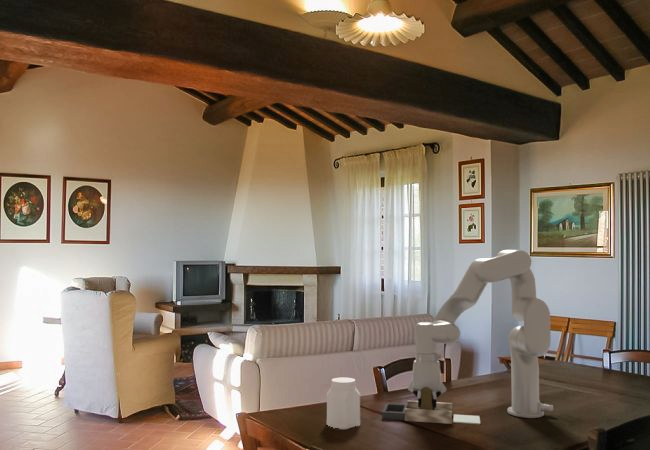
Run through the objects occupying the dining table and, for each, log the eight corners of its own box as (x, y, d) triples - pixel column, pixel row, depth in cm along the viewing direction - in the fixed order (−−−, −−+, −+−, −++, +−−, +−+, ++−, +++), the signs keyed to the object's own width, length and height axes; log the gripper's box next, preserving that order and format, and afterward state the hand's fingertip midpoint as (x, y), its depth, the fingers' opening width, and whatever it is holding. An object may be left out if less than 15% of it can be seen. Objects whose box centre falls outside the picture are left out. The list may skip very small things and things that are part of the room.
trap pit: (407, 411, 215) (407, 404, 215) (404, 420, 203) (404, 413, 203) (386, 410, 217) (386, 403, 217) (381, 419, 205) (381, 411, 205)
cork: (435, 418, 204) (434, 386, 204) (418, 417, 205) (417, 385, 206) (435, 413, 210) (435, 382, 210) (418, 412, 211) (418, 381, 211)
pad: (479, 417, 208) (479, 415, 208) (480, 424, 199) (480, 423, 199) (453, 415, 210) (453, 414, 210) (453, 422, 201) (453, 421, 201)
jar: (339, 430, 191) (339, 384, 192) (321, 424, 199) (321, 379, 199) (365, 424, 199) (365, 379, 199) (346, 418, 206) (346, 375, 207)
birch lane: (452, 414, 211) (452, 403, 211) (451, 423, 199) (451, 411, 200) (407, 411, 215) (407, 400, 215) (404, 420, 203) (404, 409, 203)
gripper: (450, 356, 210) (451, 407, 209) (403, 355, 214) (404, 405, 213) (449, 360, 203) (451, 413, 202) (402, 358, 206) (403, 411, 206)
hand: (427, 408), depth 207 cm, fingers closed on cork, 3 cm apart
